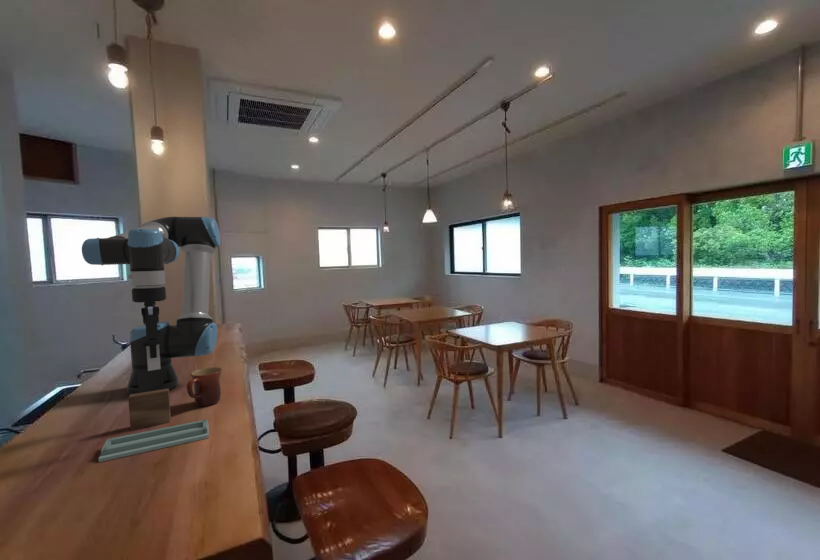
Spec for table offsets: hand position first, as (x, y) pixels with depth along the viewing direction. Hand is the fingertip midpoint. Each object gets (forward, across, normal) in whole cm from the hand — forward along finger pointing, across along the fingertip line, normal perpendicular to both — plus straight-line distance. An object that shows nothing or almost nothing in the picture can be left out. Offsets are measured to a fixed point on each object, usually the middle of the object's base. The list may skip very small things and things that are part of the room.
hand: (153, 363), depth 101 cm
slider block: (+18, -2, -2) cm, 18 cm away
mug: (+18, -8, +12) cm, 23 cm away
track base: (+17, +12, 0) cm, 21 cm away
